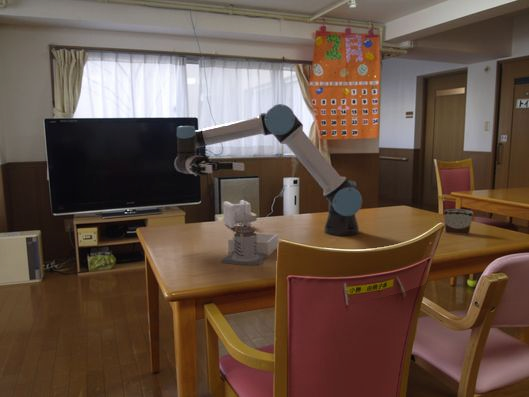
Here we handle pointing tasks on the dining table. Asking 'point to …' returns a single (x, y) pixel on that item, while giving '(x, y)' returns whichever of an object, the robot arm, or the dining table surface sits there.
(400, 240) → the dining table surface
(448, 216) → the food container
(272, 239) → the white open storage bin
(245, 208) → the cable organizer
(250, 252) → the french press
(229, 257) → the rubber mat
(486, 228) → the dining table surface
